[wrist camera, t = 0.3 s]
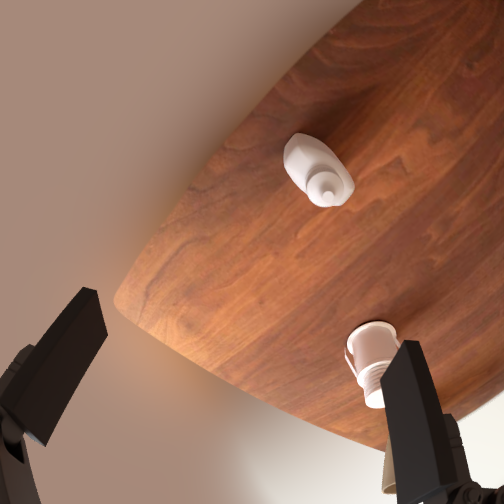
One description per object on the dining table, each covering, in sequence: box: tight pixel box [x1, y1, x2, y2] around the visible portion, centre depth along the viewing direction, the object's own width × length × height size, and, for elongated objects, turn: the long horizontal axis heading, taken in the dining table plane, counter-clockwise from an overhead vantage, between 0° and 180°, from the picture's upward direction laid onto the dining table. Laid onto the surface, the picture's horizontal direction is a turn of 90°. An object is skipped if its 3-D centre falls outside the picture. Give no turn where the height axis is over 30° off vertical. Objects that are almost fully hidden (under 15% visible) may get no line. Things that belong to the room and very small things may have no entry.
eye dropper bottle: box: [284, 133, 355, 207], centre depth 22 cm, size 4×6×12 cm
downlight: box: [345, 321, 401, 408], centre depth 34 cm, size 8×7×10 cm
